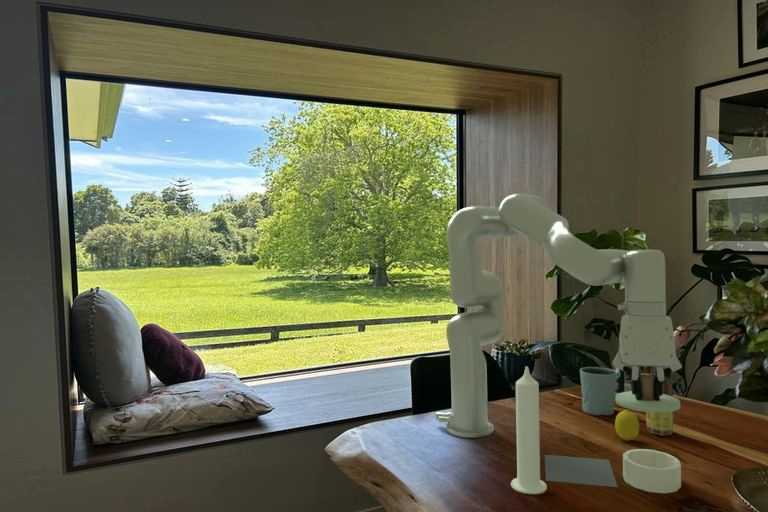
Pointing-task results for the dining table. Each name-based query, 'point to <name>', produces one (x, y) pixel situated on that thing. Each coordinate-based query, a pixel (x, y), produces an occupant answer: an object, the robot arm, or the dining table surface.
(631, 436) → the lemon
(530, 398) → the candle
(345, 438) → the dining table surface
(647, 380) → the lid
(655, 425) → the sauce bottle
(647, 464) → the bowl
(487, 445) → the dining table surface
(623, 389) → the beverage can
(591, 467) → the mat
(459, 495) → the dining table surface
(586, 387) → the blue-green cup
